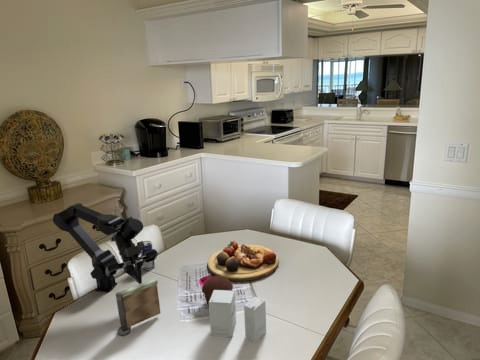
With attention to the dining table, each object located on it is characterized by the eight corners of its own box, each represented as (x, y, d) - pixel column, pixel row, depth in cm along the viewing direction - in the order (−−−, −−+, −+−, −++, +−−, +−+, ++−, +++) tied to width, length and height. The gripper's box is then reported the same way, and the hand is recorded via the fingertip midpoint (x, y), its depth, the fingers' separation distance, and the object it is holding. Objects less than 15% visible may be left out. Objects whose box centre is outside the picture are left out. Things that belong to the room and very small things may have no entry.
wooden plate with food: (290, 256, 166) (290, 240, 164) (256, 290, 141) (255, 271, 139) (233, 244, 184) (232, 229, 181) (193, 272, 158) (191, 254, 156)
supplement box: (232, 337, 115) (230, 303, 112) (210, 336, 116) (207, 302, 113) (237, 322, 122) (235, 290, 119) (215, 321, 123) (213, 289, 120)
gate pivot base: (120, 338, 118) (119, 335, 117) (115, 331, 121) (115, 328, 121) (133, 332, 120) (132, 329, 120) (128, 325, 123) (128, 323, 123)
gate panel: (122, 330, 119) (116, 296, 115) (120, 328, 120) (114, 293, 117) (161, 313, 127) (157, 280, 123) (159, 311, 128) (155, 278, 125)
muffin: (220, 290, 142) (218, 267, 139) (240, 301, 134) (238, 277, 131) (196, 304, 134) (194, 280, 131) (216, 316, 126) (214, 291, 123)
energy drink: (151, 270, 159) (148, 246, 156) (140, 270, 160) (137, 245, 157) (156, 264, 164) (153, 240, 161) (146, 264, 165) (142, 240, 162)
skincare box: (256, 327, 120) (254, 295, 116) (267, 332, 117) (266, 300, 113) (244, 337, 115) (242, 304, 112) (255, 343, 112) (254, 309, 109)
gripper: (102, 244, 124) (118, 285, 118) (153, 229, 135) (169, 266, 129) (99, 256, 132) (113, 296, 127) (147, 241, 143) (162, 277, 137)
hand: (140, 283), depth 130 cm, fingers closed
